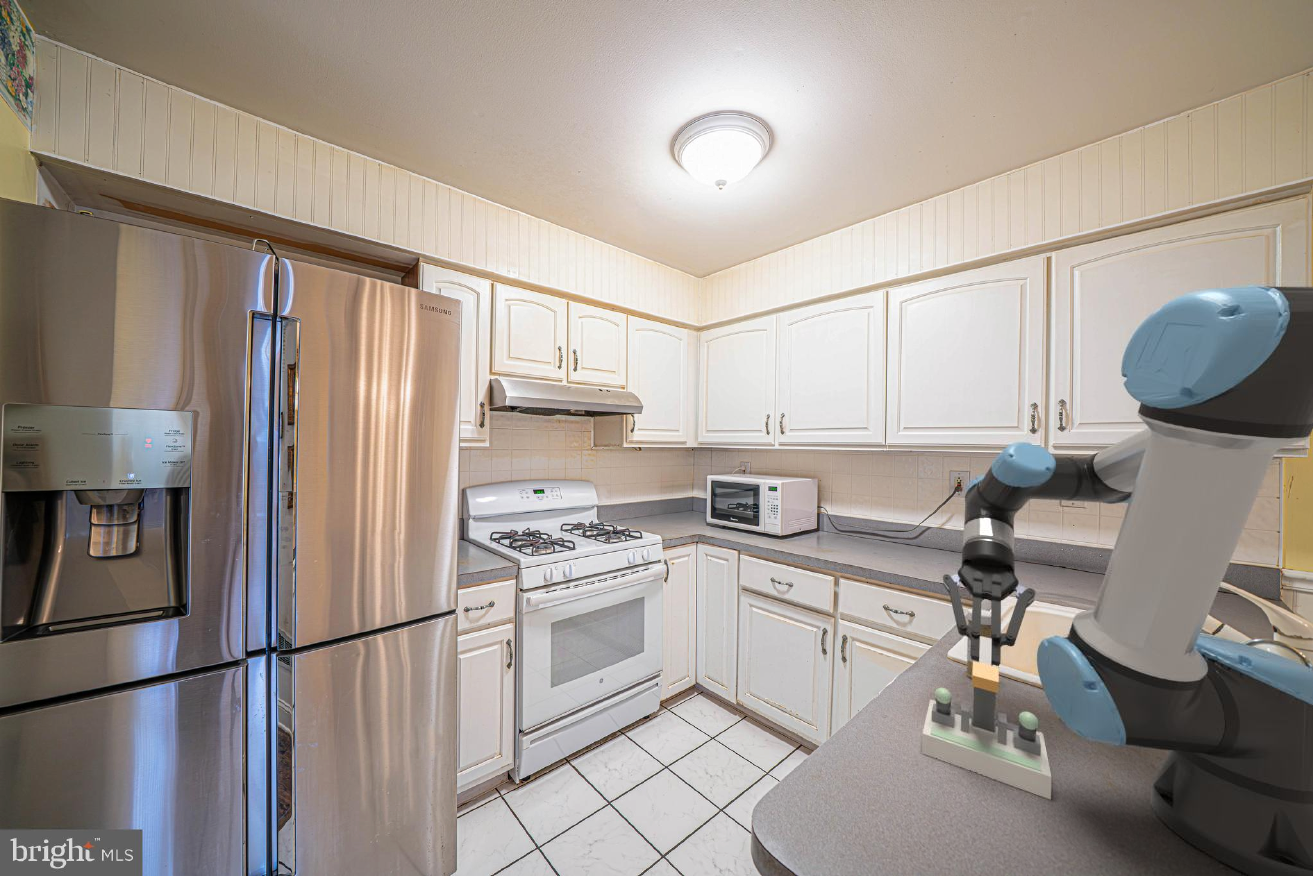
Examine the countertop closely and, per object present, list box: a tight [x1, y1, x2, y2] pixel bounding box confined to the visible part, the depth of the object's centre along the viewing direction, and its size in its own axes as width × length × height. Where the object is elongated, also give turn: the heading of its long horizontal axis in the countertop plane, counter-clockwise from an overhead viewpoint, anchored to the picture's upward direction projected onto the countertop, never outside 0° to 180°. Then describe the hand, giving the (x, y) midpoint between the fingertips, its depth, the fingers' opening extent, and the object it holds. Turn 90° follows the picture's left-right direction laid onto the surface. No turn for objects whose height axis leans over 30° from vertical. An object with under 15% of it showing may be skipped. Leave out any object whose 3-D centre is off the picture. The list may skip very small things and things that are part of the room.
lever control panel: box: [921, 687, 1053, 801], centre depth 72 cm, size 15×12×9 cm
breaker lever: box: [971, 661, 1000, 733], centre depth 69 cm, size 3×2×13 cm
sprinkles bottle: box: [965, 608, 994, 679], centre depth 96 cm, size 5×5×13 cm
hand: (984, 682), depth 70 cm, fingers closed
